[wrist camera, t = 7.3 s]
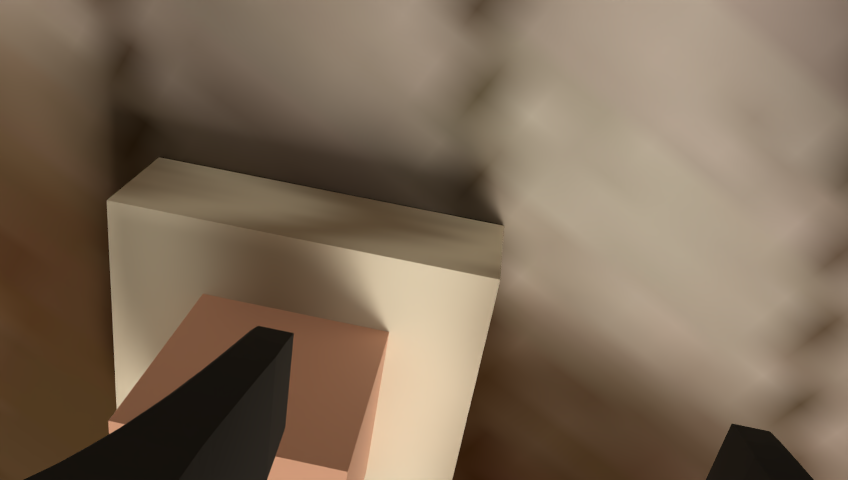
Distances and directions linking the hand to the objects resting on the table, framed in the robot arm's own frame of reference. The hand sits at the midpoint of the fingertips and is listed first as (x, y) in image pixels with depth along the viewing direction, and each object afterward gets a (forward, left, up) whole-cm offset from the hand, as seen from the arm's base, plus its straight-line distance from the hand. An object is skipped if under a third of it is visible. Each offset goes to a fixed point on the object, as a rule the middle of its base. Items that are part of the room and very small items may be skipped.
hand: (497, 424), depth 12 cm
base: (+5, +6, -9) cm, 12 cm away
